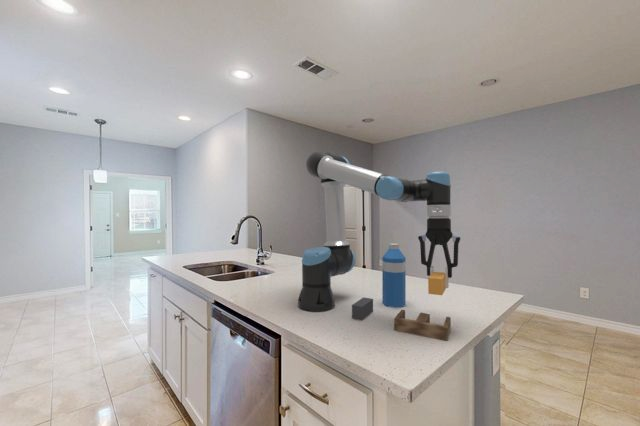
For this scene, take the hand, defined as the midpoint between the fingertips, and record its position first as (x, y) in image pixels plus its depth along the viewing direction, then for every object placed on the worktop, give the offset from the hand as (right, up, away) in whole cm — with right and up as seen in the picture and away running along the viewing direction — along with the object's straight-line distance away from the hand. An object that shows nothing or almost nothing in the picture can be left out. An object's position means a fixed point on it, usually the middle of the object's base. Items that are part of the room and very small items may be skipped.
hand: (439, 286), depth 97 cm
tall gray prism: (-25, -13, +10) cm, 30 cm away
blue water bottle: (-10, -13, +22) cm, 28 cm away
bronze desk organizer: (-7, -13, -4) cm, 16 cm away
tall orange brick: (-2, -1, -4) cm, 4 cm away
